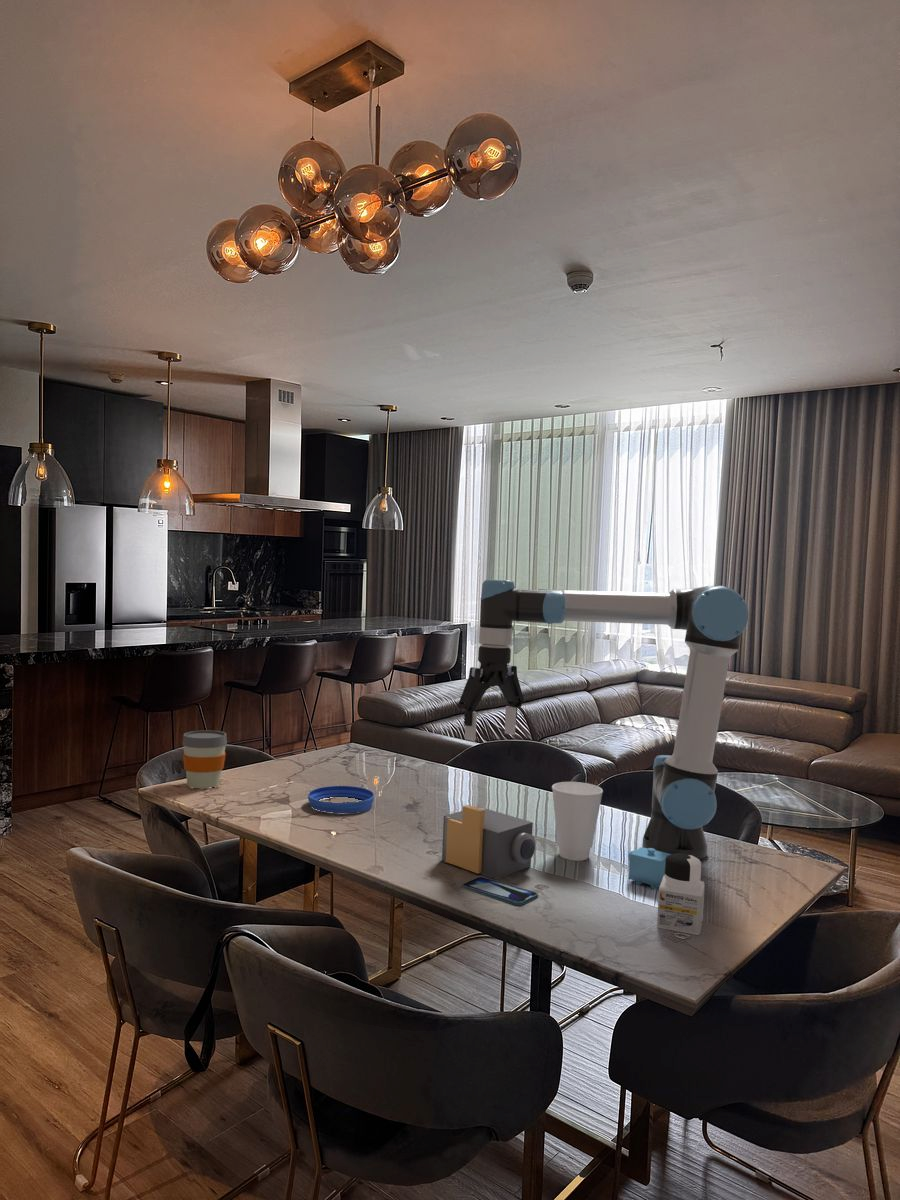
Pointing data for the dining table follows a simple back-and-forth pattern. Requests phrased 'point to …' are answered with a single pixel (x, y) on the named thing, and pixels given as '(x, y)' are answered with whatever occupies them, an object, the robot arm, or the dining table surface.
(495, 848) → the case
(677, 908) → the container
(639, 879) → the teapot
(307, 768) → the dining table surface
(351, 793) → the blue flat round ring
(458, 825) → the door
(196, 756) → the reusable coffee cup
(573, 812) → the cup
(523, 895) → the smartphone
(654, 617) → the robot arm
